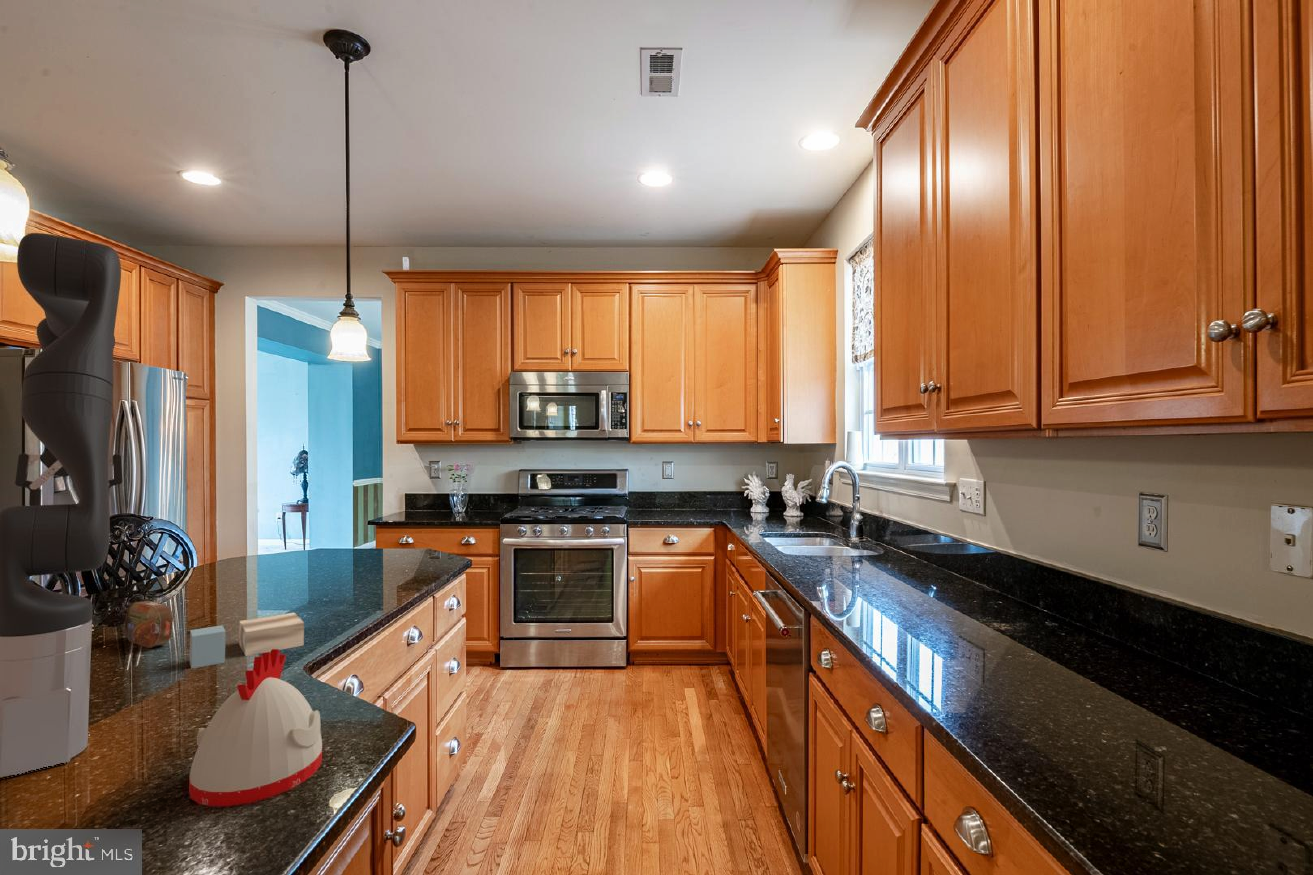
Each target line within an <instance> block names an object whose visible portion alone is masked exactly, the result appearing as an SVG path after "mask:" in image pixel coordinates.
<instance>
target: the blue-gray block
mask: <svg viewBox="0 0 1313 875" xmlns="http://www.w3.org/2000/svg"><path fill="white" fill-rule="evenodd" d="M189 632H190V633H189V655H188V656H189V657H188V658H189V659H188V660H189V665H190V669H191V670H192V668H193V669H198V668H202V667H208V666H209V667H210V666H213V665H220V664H223V663H226V638H227V637H226V636H227V635H226V634H227V631H226V629H225V627H224V625H223V624H222V625H216V626H209V627H202V628H195V629H190V630H189Z"/></svg>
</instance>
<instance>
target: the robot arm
mask: <svg viewBox="0 0 1313 875" xmlns="http://www.w3.org/2000/svg"><path fill="white" fill-rule="evenodd" d="M120 259H121V258H120V256H119V254H118V252H117V251H116V250H115V248H113V247H112V246H109V245H106V244H104V243H100V242H99V243H98V242H94V241H89V240H82V239H79V238H78V239H77V238H71V237H65V236H59V235H56V234H49V233H43V232H42V233H41V232H40V233H39V232H31V233H28V234H25V235H24V236H22V238H21V240H20V241H19V244H18V249H17V257H16V261H17V262H16V263H17V264H16V265H17V266H16V268H17V273H18V277H19V280H20V283H21V285H22V286H23V288H24V289H25V291H26V292H27V293H28V295H30V296H31V298H32V299H33V300H34V301H35V303H37V305H38V306H40V308H41V309H42V310H43V311H44V315H45V318H43V319H42V320H40V322H39V323H38V324H37V327H36V336H37V339H38V343H39V345H40V348H41V351H40V352H39V353H38V354H36V356H35V357H33V359H32V360H31V361H30V363H29V364H28V365H27V366H26V368H25V370H24V373H23V379H22V380H23V381H22V392H21V400H20V404H21V406H20V413H21V416H22V419H23V420H24V421H23V422H25V424H26V425H27V427H28V428H29V430H30V431H31V432H32V433H33V435H34V436H35V437H36V438H37V439H38V440H39V442H41V444H42V445H44V446H43V452H42V453H41V454H32V453H31V454H29V453H25V452H24V453H21V454H19V455H18V460H17V466H16V475H15V480H14V482H15V483H14V484H15V486H17V487H22V488H25V489H28V490H29V500H28V502H29V503H28V504H29V505H18V506H17V505H15V506H9V507H4V508H3V509H2V510H1V511H0V777H3V776H9V775H15V776H18V775H17V774H19V775H23V774H26V773H25V772H27V773H29V772H28V771H30V770H35V771H37V770H36V769H39V770H41V769H40V768H43V767H47V768H49V767H48V766H52V767H55V766H54V765H56V764H60V763H64V764H67V763H70V761H71V760H72V758H74V757H76V756H78V755H79V754H80V753H82V752H83V751H84V750H86V748H87V747H88V743H89V742H88V740H89V738H88V736H89V734H88V733H89V712H90V711H89V710H90V708H89V707H90V686H91V684H90V680H91V678H90V677H91V653H92V635H93V633H92V631H93V603H92V601H91V600H90V598H88V597H86V596H85V597H84V596H80V595H74V594H67V593H62V592H61V593H60V592H56V591H52V590H48V589H45V588H43V587H40V586H38V585H36V584H35V583H34V582H32V581H31V578H30V577H34V576H47V575H48V576H49V575H56V574H57V575H58V574H59V575H60V574H66V573H69V574H70V573H78V572H88V571H89V572H90V571H93V570H96V569H99V568H101V567H102V566H103V565H104V563H105V561H106V559H107V558H108V553H109V549H110V537H111V536H110V535H111V526H110V525H111V520H110V519H111V516H110V490H111V488H112V487H114V486H118V485H121V484H122V483H123V471H122V470H123V469H122V468H123V467H122V466H123V465H122V464H123V463H122V455H121V454H119V453H114V454H109V452H110V440H111V438H110V437H111V428H112V418H113V405H114V404H113V403H114V350H115V346H116V338H115V328H116V319H117V313H118V304H119V298H120V290H121V283H122V282H121V281H122V266H121V264H122V263H121V260H120ZM37 461H40V462H41V463H42V464H43V465H44V466H45V467H46V470H45V471H44V472H43V473H41V474H40V475H39V476H38V477H37V478H36V479H35V480H33V481H32V480H29V479H28V476H29V475H28V473H29V466H34V465H35V463H36V462H37ZM109 466H113V468H112V469H113V478H112V479H109ZM53 476H57V477H59V478H60V477H69V478H70V479H71V481H72V483H73V484H74V487H75V490H76V492H77V496H78V498H79V501H78V503H70V504H69V503H65V504H64V503H63V504H42V490H43V489H42V488H41V487H42V486H43V485H44V484H45V483H46V482H47V481H48V480H50V479H51V478H52V477H53ZM66 762H67V763H66ZM60 765H61V764H60ZM56 766H57V765H56ZM43 769H44V768H43ZM22 773H23V774H22Z"/></svg>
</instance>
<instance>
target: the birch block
mask: <svg viewBox="0 0 1313 875" xmlns="http://www.w3.org/2000/svg"><path fill="white" fill-rule="evenodd" d="M238 625H239V626H238V627H239V628H238V644H239V647H240V649H241V651H242V652H243V654H244V657H249V656H253V655H258V654H259V655H261V654H262V653H271V650H272V649H279V651H280V650H286V649H291V648H297V647H303V646H304V644H305V642H304V641H305V622H304V621H303V620H302V619H301V617H300V616H298V615H297V614H296V613H295V612H289V613H282V614H276V615H269V616H262V617H257V618H249V619H244V620H239V622H238Z"/></svg>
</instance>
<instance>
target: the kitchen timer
mask: <svg viewBox="0 0 1313 875" xmlns="http://www.w3.org/2000/svg"><path fill="white" fill-rule="evenodd" d="M286 656H287V654H284V653H283V654H282V653H281V654H280V650H279V649H272V650H271V652H266V653H261V656H254V659H253V667H252V669H251V670H249V669H248V670H245V679H246V683H245V684H237V690H235V691H234V692H233V693H232V694H231V695H230V696H229V697H228V698H227V699H225V701H224V702H223V703H222V704H221V705H220V707H219V708H218V709H217V711H216V712H215V713H214V714H213V716H212V718H211V720H210V721H209V722H208V723H209V724H208V725H207V726H206V727H201V728H199V729H198V731H197V735H196V745H197V750H196V752H195V755H194V756H193V757H194V758H193V760H192V764H191V767H190V771H189V781H188V782H189V783H188V792H189V796H190V799H191V800H192V801H194V802H196V803H197V804H199V805H204V806H208V807H209V806H210V807H232V806H239V805H240V806H241V805H246V804H252V803H254V802H258V801H261V800H262V801H263V800H265V799H270V798H272V797H274V796H277V795H279V794H282V793H284V792H286V791H289V790H291V789H293V788H295V787H297V786H298V785H300V784H302V783H304V782H306V781H307V779H309V778H310V777H312V776H313V775H314V774H315V773H316V772H317V771H318V769H319V768H320V766H321V765H322V761H323V760H322V759H323V740H322V739H323V738H322V733H321V714H320V711H319V710H313V709H312V707H311V705H310V703H309V702H308V701H307V699H306V698H305V696H304V695H303V694H302V693H301V692H300V690H298V689H297V688H296V687H295V686H294V685H292V684H291V683H289V682H287V681H285V680H283V679H281V675H282V673H283V668H284V666H285V662H286V661H285V660H286V658H287V657H286Z"/></svg>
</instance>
